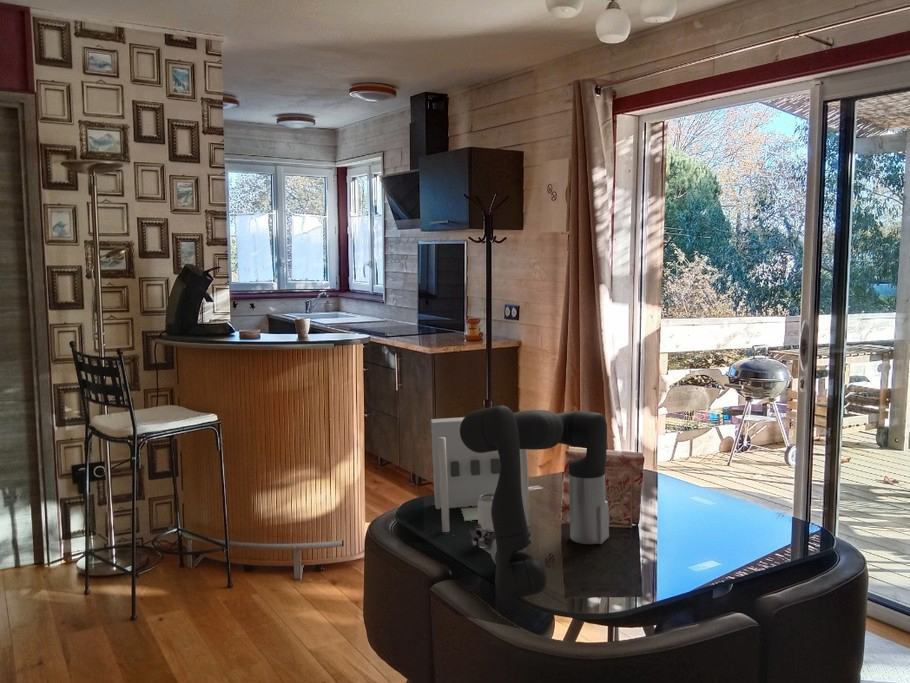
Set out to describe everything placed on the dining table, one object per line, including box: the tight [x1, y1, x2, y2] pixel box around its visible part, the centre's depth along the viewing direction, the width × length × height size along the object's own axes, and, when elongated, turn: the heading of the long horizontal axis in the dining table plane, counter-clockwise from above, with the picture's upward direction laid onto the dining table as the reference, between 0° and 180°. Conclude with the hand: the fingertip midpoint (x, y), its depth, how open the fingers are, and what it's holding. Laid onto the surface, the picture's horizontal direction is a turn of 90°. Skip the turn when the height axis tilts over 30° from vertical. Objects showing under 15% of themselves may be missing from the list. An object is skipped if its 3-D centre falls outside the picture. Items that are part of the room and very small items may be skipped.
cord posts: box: [438, 437, 531, 533], centre depth 212 cm, size 2×24×26 cm, turn 96°
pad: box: [460, 506, 478, 522], centre depth 225 cm, size 10×10×1 cm
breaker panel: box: [430, 416, 500, 510], centre depth 233 cm, size 7×24×26 cm, turn 96°
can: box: [477, 494, 494, 546], centre depth 203 cm, size 6×6×12 cm
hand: (495, 526), depth 195 cm, fingers open, 8 cm apart
